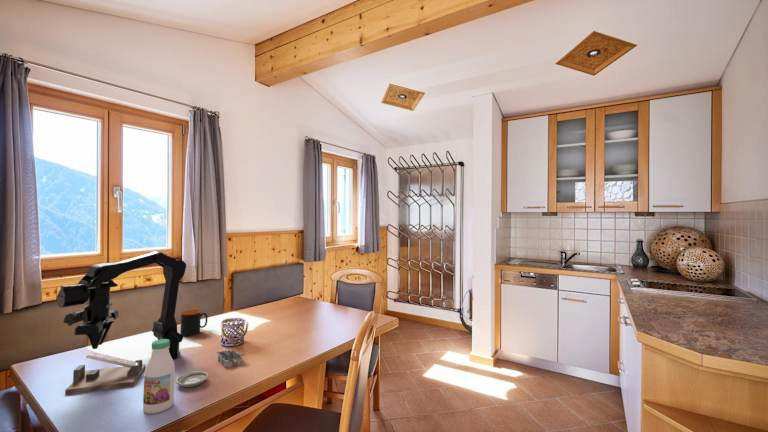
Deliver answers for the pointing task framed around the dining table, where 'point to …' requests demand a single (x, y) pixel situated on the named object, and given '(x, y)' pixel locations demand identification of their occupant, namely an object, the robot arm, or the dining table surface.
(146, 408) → the milk bottle
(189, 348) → the dining table surface
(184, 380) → the saucer
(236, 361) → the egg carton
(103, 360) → the bar
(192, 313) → the mug
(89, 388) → the base
